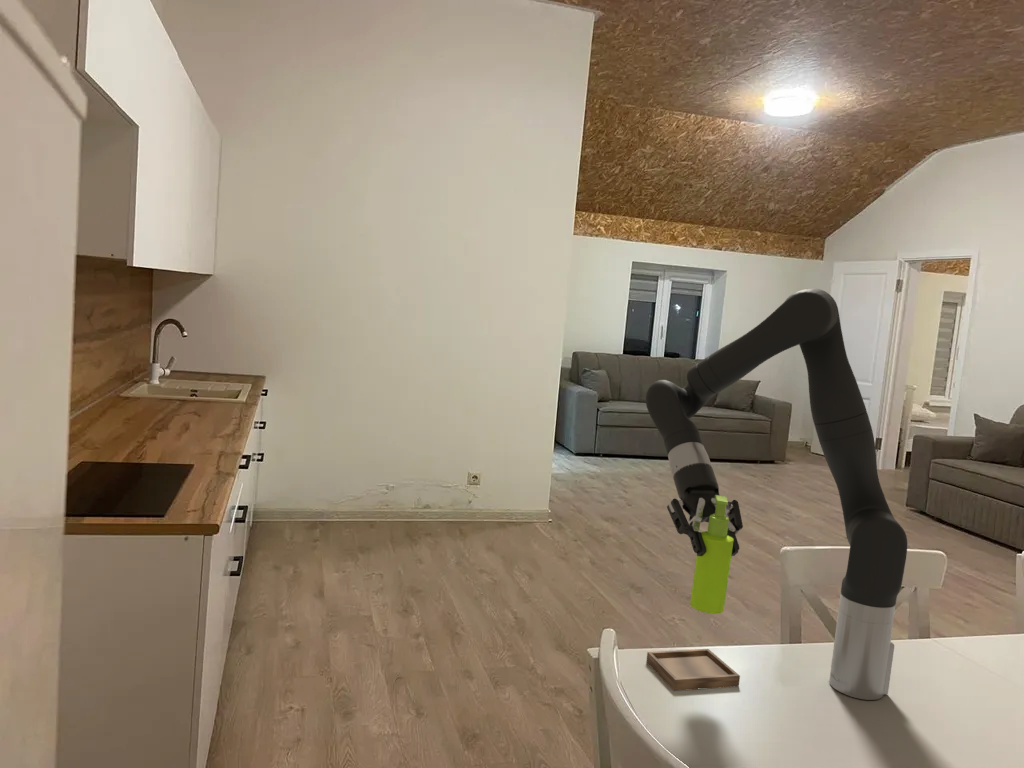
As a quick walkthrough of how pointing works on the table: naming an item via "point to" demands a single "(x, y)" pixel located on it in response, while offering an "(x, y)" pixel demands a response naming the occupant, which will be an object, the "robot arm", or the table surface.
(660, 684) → the table surface
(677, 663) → the soap tray
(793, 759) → the table surface
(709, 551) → the soap dispenser
